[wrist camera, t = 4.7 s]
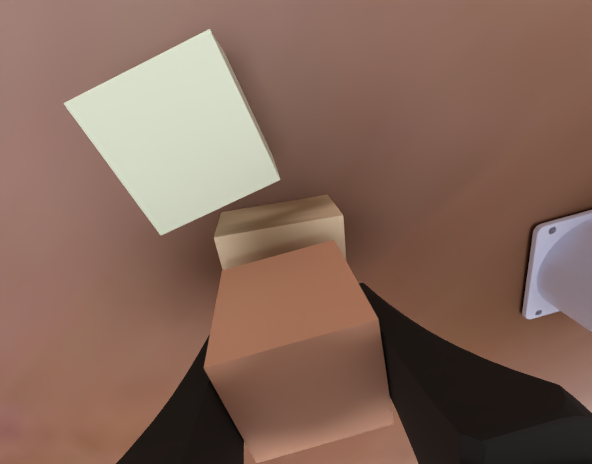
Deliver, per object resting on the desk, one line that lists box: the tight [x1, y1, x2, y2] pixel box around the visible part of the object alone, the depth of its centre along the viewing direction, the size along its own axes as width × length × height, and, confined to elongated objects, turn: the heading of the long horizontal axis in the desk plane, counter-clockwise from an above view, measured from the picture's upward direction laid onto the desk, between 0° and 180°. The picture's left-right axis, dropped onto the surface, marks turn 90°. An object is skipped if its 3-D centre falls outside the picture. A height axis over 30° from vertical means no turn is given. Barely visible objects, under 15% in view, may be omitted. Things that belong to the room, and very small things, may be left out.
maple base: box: [214, 195, 346, 270], centre depth 16 cm, size 6×6×4 cm
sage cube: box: [64, 29, 280, 235], centre depth 12 cm, size 5×5×5 cm
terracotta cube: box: [204, 240, 394, 463], centre depth 11 cm, size 5×5×5 cm
